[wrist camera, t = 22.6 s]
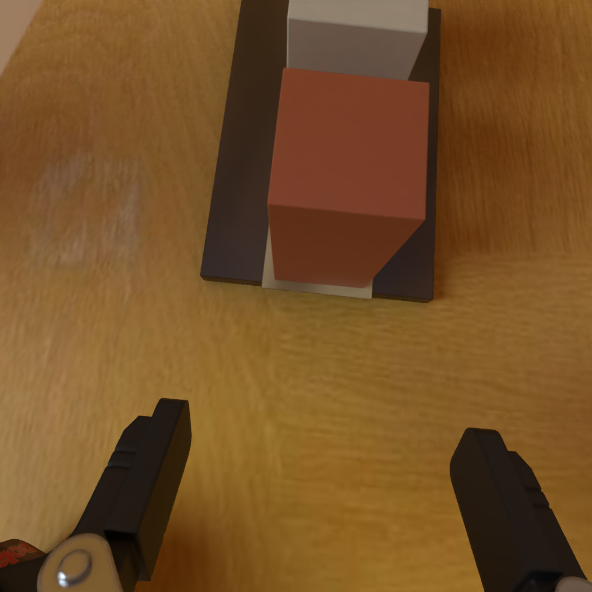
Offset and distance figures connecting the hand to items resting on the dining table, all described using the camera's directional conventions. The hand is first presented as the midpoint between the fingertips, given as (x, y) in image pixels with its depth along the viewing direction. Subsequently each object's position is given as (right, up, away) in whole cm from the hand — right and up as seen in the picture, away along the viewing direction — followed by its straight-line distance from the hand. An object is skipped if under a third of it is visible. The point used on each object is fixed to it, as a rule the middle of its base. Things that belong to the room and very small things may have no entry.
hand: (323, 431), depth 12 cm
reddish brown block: (+1, +7, +9) cm, 11 cm away
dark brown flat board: (+1, +13, +12) cm, 17 cm away
